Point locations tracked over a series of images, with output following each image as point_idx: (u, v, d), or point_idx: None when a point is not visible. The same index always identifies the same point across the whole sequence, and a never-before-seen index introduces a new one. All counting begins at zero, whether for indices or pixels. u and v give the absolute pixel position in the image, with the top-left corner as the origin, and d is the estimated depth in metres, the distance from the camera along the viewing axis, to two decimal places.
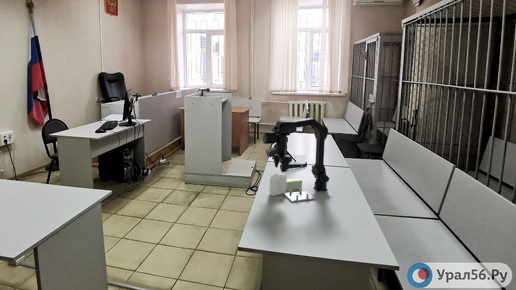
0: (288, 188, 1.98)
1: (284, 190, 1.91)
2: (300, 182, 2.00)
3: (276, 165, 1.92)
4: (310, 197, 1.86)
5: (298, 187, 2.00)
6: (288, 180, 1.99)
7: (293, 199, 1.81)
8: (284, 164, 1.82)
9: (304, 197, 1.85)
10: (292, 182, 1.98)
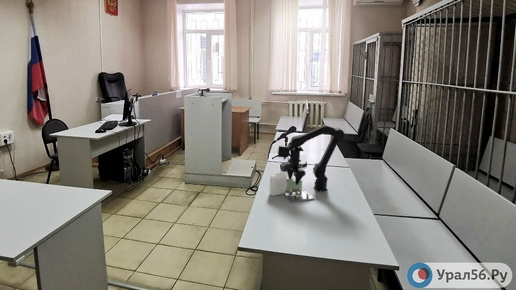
0: (288, 188, 1.98)
1: (284, 190, 1.91)
2: (300, 182, 2.00)
3: (290, 178, 2.04)
4: (310, 197, 1.86)
5: (298, 187, 2.00)
6: (288, 180, 1.99)
7: (293, 199, 1.81)
8: (298, 177, 1.94)
9: (304, 197, 1.85)
10: (292, 182, 1.98)
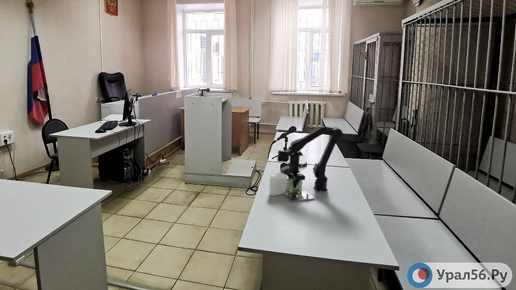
0: (288, 188, 1.98)
1: (284, 190, 1.91)
2: (300, 182, 2.00)
3: None
4: (310, 197, 1.86)
5: (298, 187, 2.00)
6: (288, 180, 1.99)
7: (293, 199, 1.81)
8: (296, 181, 1.97)
9: (304, 197, 1.85)
10: (292, 182, 1.98)
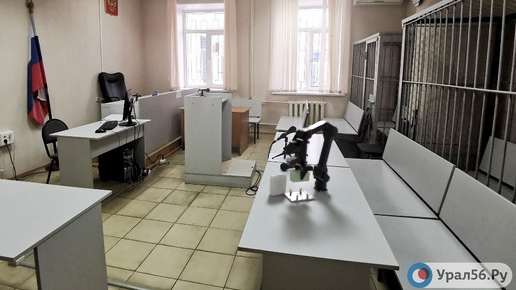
0: (295, 180, 1.82)
1: (284, 190, 1.91)
2: (308, 173, 1.84)
3: None
4: (310, 197, 1.86)
5: (305, 179, 1.84)
6: (295, 171, 1.83)
7: (293, 199, 1.81)
8: (303, 172, 1.81)
9: (304, 197, 1.85)
10: (299, 173, 1.82)
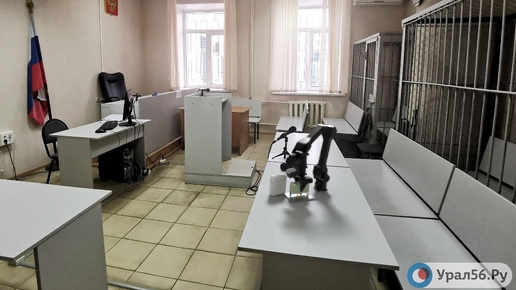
0: (294, 192, 1.83)
1: (284, 190, 1.91)
2: (307, 185, 1.85)
3: None
4: (310, 197, 1.86)
5: (305, 190, 1.86)
6: (294, 183, 1.84)
7: (293, 199, 1.81)
8: (303, 184, 1.82)
9: (304, 197, 1.85)
10: (299, 185, 1.83)
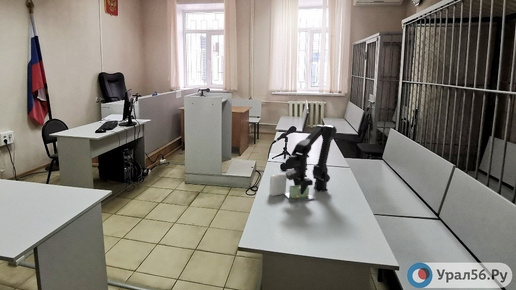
0: (294, 195, 1.84)
1: (284, 190, 1.91)
2: (307, 189, 1.86)
3: None
4: (310, 197, 1.86)
5: (305, 194, 1.86)
6: (294, 187, 1.85)
7: (293, 199, 1.81)
8: (303, 186, 1.82)
9: (304, 197, 1.85)
10: (298, 189, 1.84)
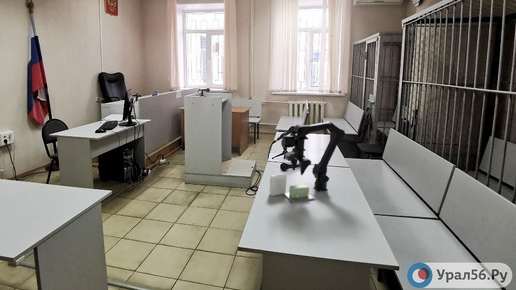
0: (294, 195, 1.84)
1: (284, 190, 1.91)
2: (307, 189, 1.86)
3: (294, 168, 1.97)
4: (310, 197, 1.86)
5: (305, 194, 1.86)
6: (294, 187, 1.85)
7: (293, 199, 1.81)
8: (303, 167, 1.87)
9: (304, 197, 1.85)
10: (298, 189, 1.84)
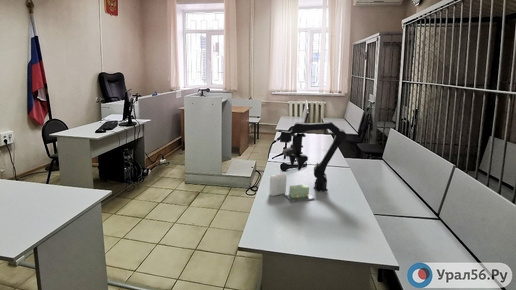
0: (294, 195, 1.84)
1: (284, 190, 1.91)
2: (307, 189, 1.86)
3: (292, 164, 2.05)
4: (310, 197, 1.86)
5: (305, 194, 1.86)
6: (294, 187, 1.85)
7: (293, 199, 1.81)
8: (300, 163, 1.95)
9: (304, 197, 1.85)
10: (298, 189, 1.84)
